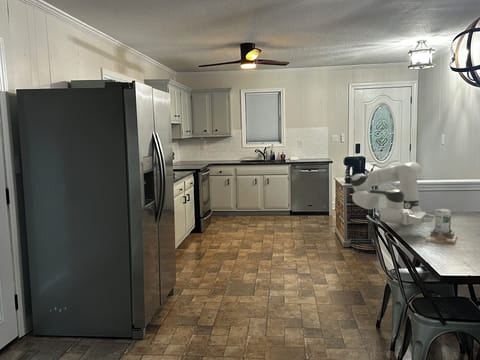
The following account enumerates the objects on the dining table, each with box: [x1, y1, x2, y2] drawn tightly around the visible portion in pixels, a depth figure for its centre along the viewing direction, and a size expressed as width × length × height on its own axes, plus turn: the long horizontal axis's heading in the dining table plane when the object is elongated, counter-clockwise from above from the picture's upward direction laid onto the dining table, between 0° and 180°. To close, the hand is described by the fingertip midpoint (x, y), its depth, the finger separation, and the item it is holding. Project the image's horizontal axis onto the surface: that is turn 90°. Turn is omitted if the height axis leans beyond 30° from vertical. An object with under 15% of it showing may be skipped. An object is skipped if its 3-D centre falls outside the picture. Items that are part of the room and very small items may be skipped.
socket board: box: [425, 227, 458, 245], centre depth 233 cm, size 18×14×6 cm
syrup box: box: [434, 208, 452, 233], centre depth 235 cm, size 6×6×14 cm
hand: (432, 218), depth 237 cm, fingers open, 8 cm apart
